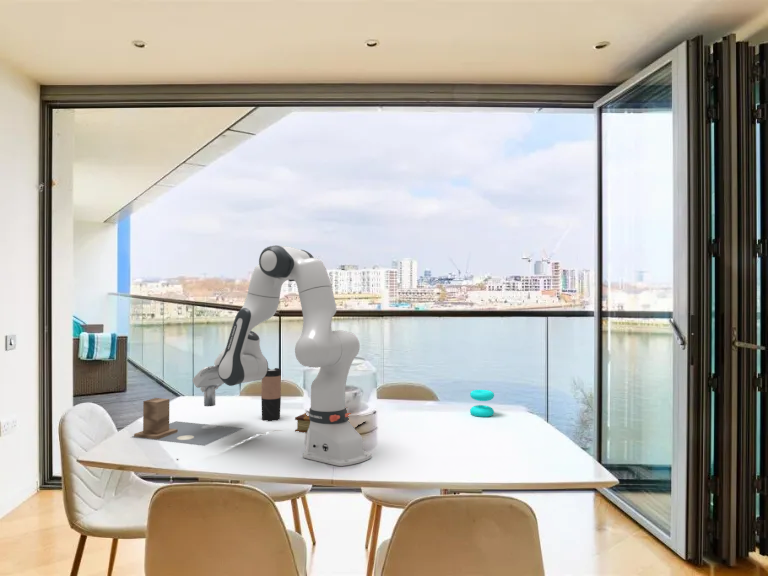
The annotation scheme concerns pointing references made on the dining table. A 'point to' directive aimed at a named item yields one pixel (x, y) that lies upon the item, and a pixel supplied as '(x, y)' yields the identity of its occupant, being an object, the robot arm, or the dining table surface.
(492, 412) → the donuts
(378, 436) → the dining table surface
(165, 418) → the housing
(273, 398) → the travel mug
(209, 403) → the peg
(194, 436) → the board
